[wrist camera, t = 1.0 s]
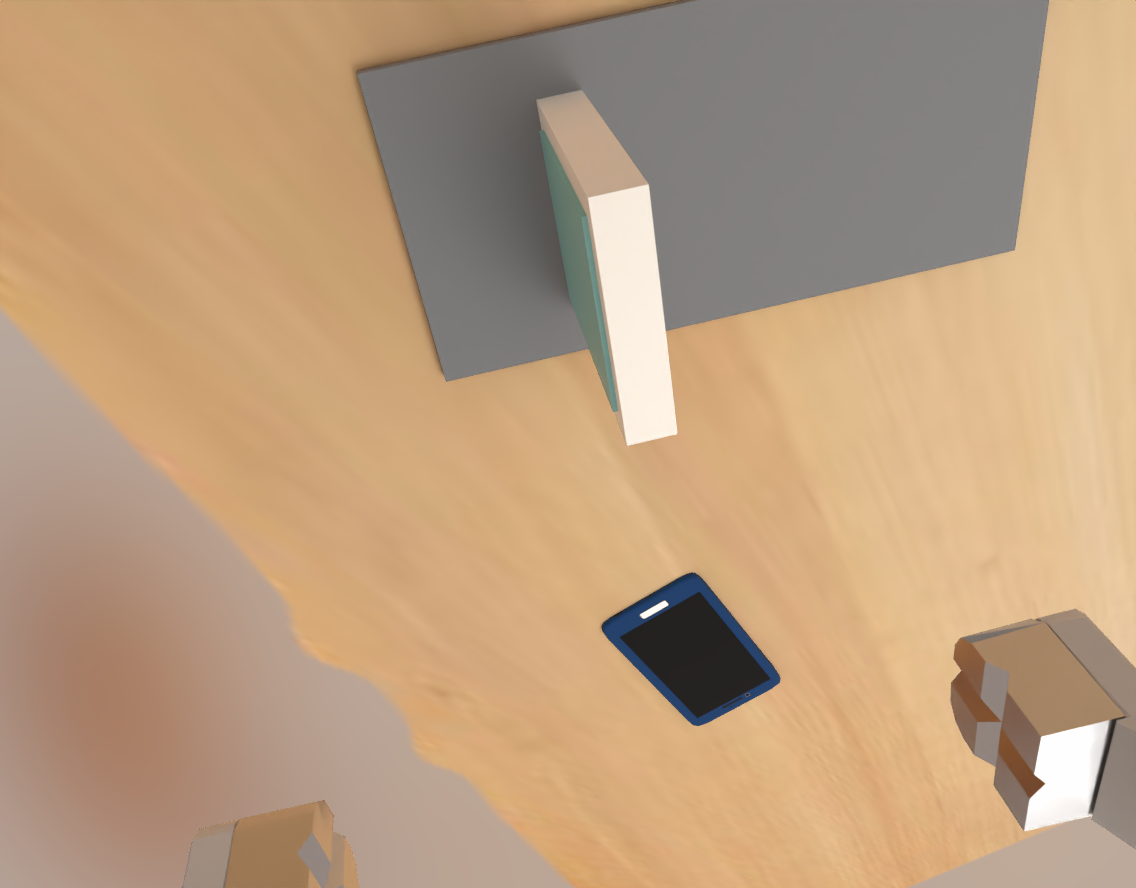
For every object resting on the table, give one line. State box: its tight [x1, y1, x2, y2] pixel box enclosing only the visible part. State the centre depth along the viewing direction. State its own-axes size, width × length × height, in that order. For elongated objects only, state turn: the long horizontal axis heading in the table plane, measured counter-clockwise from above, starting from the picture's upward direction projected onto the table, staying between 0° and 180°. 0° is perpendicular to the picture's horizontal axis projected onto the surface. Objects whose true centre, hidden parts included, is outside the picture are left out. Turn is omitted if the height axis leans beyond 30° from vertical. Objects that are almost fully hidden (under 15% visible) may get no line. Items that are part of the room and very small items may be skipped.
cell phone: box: [602, 573, 780, 726], centre depth 62 cm, size 7×14×1 cm, turn 33°
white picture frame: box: [536, 90, 677, 446], centre depth 37 cm, size 10×2×12 cm, turn 9°
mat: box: [357, 0, 1049, 382], centre depth 42 cm, size 15×30×1 cm, turn 100°
